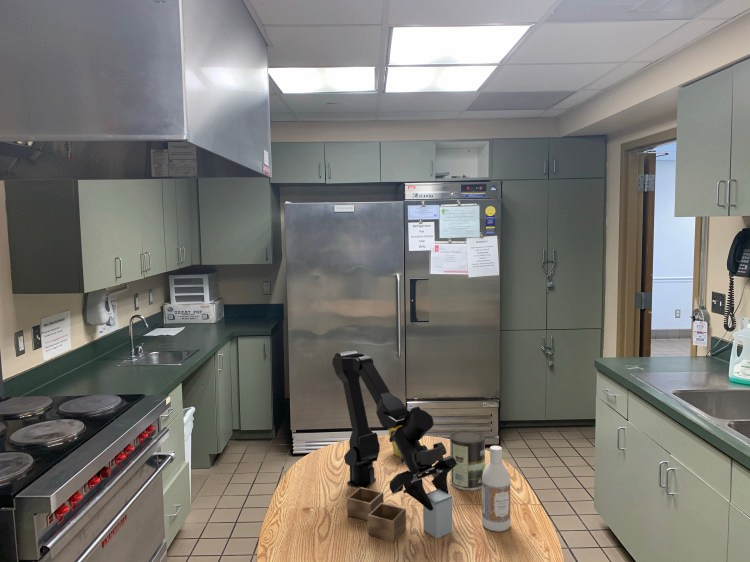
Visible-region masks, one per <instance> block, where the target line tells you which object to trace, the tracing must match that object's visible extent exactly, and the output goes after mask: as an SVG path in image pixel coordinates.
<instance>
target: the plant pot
mask: <svg viewBox="0 0 750 562" xmlns="http://www.w3.org/2000/svg"><path fill="white" fill-rule="evenodd" d="M399 427H402V426H398V427H395V428H391V429H387V430H388V431H387V432H388V436H389V437H390V436H391V432H392V431H395V430H397V429H398V428H399ZM391 446H392V450H393V454H394V455H395V456H397V457H400V458H403V457H402V455H401V453H400V451H399V449H398V447H397V445H396V443H395V441H394V442H391Z"/></svg>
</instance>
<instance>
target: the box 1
mask: <svg viewBox="0 0 750 562" xmlns="http://www.w3.org/2000/svg"><path fill="white" fill-rule="evenodd" d="M384 502H385V501H384V492H383V491H378V490H375V489H370V488H368V487H367V488H363V487H358V489H356V490H355V491H354V492H353V493H351V494H350V495H349V496H348V497H347V498H346V507H347V508H346V510H347V512H346V513H347V515H346V516H347V518H352V519H354V520H357V521H358V520H359V521H363V522H366V523H368V514H369V513H371V512H372V511H373V510H374V509H375V508H376V507H377V506H378V505H379V504H380V503H384Z"/></svg>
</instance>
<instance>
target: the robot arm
mask: <svg viewBox="0 0 750 562" xmlns="http://www.w3.org/2000/svg"><path fill="white" fill-rule="evenodd" d="M331 361H332V367H333V369H334V372H335V375H336V377H337V378H338V379H339V380H340V381H341V382H342V385H343V389H344V395H345V400H346V404H347V410H348V415H349V419H350V420H349V421H350V425H351V430H352V431H351V434H350V438H349V441H348V444H349V450H348V451H347V452H346V453H345V454H344V456H343V459H344V463H345V464H346V465H347V466H349V480H348V481H347V482H346V484H347V485H348V486H349V485H350V486H354V487H357V488H360V487H363V488H367V489H368V488H369V486H371V485H372V484H373V483H374V482H375V481H376V480H377V479H376V477H375V467H374V462H377V461H378V459H379V453H380V452H381V451H380V447H381V445H380V441H379V437H378V433H377V432H373V431H372V429H370V426H369V421H368V418H367V417H368V416H367V411H366V407H365V402H364V401H365V400H364V398H363V391H362V388H361V383H360V378H361V380H362V381H363V383H364V385H365V387H366V389H367V390H368V392H369V394H370V396H371V397H372V400H373V402H374V403H375V404H376V411H375V412H376V416H377V417H378V421H379V423H380V425H381V426H382V427H383V428H384V429H386V430H388V429H391V428H395V427H398V426H402V427H399V428H398V429H397V430H395V431H392V432H391V436H389V443H392V442H394V441H395V443H396V445H397V447H398V449H399V451H400V453H401V455H402V457H401V458H400V461H401V463H402V464H404V463H405V465H406V467H407V469H408V470H405V471H403V472H400V473H397V474H396V475H395V476H394V477H393V478H392V479H391V480H390V481H389V490H390V491H391V494H393V495H394V494H396V493H397V494H398V493H400V492H402V491H403V492H402V493H403V494H408V495H409V496H410V497H412V498H413V499H414V500H417V502H419V503H420V504H421V505H422V507H423V506H425V507H426V508H427V509H428V510H429V511H432V510H433V507H432V505H431V502H430V500H429V498H428V496H427V493H426V491H425V488H424V484H423V483H424V482H423V479H424V478H427V477H429V476H432V478H433V479H432V480H431V483H432V485H433V486H434V488H435V490H437V489H440V490H442V491H444V492H445V493H447V494H449V487H448V486H449V485H448V474H449V473H450V470H452V469H453V468H454V467H455V466H456V465H457V462H456V461H455V459H454V457H452V456H450V455H448V456H445V455H447V449H446V447H445V445H444V443H443V442H442V441H440V442H437V443H434V444H433V445H432V447H433V448H429V449H428V447H427V446H426V445H425V444H423V445H422V444H421V442H420V440H422V439H423V438H424V436H425V435H426V434H428V433H429V432H430V430H432V428H433V427H434V422H435V421H434V418H433V417H432V415H431V414H430V413H428V412H427V411H425V410H423V409H421V408H420V406H419V405H418V406H414V407H412V408H411V409H409V408H407V406H406V405H405V404H404V402H402V399H400V398H399V397H397V396H395V395H393V394H392V393H391V391H390V389H389V388H388V386H387V384H386V383H385V381H384V380H383V378H382V376H381V374H380V373H379V371H378V369H377V368H376V366H375V364H374V360H373V358H372V357H371V356H369V355H366V354H365V353H359V352H358V351H357V350H355V349H353V350H347V351H340V352H336V353H335V354H334V356H333V358H332V360H331ZM444 456H445V457H444ZM403 489H404V490H403ZM449 495H450V494H449Z"/></svg>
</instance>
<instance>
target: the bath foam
mask: <svg viewBox="0 0 750 562" xmlns="http://www.w3.org/2000/svg"><path fill="white" fill-rule="evenodd" d="M481 523H482V526H483V527H484V528H485V529H487V530H489V531H492V532H504V531H508V530H509V528H510V527H511V476H510V473H509V471H508V469H507V467H506V465H505V464H504V462H503V448H502V447H501V446H500V445H491V446H490V447H489V462H488V463H487V465H485V469H484V472H483V475H482V488H481Z"/></svg>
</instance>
